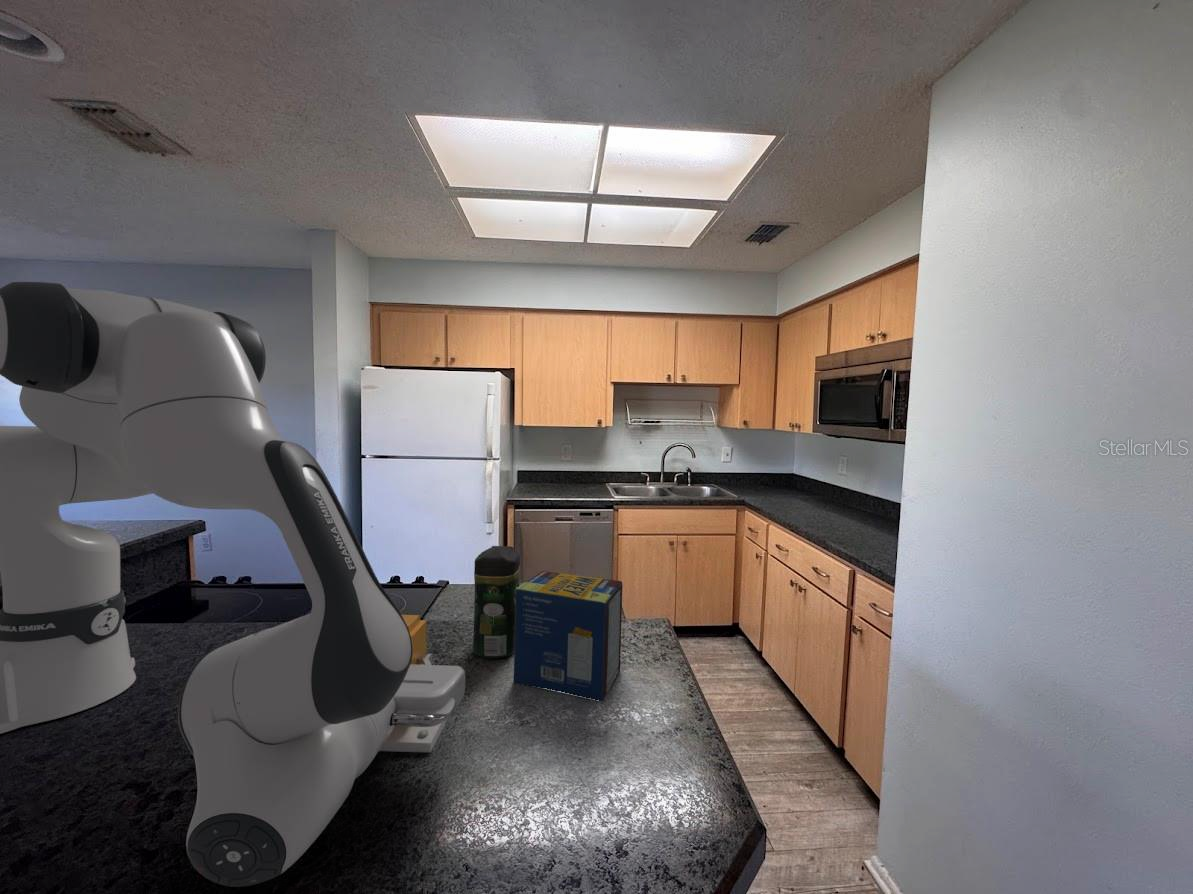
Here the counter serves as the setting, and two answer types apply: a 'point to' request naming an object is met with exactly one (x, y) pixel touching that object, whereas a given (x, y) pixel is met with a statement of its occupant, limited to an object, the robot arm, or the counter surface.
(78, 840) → the counter surface
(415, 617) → the tall orange stepped box
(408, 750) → the plate
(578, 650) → the protein box
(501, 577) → the coffee jar
